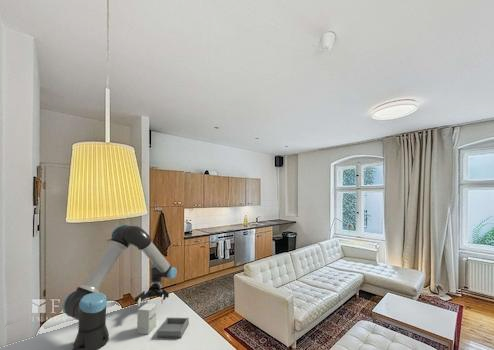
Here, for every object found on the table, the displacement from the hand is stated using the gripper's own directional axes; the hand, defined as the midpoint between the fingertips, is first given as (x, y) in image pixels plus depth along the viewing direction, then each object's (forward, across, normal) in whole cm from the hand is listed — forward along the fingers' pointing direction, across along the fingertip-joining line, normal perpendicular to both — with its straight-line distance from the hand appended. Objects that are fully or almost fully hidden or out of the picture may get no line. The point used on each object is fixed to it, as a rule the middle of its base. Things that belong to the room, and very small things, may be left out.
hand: (150, 303), depth 136 cm
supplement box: (+10, 0, -10) cm, 14 cm away
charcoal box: (+15, -14, -10) cm, 23 cm away
